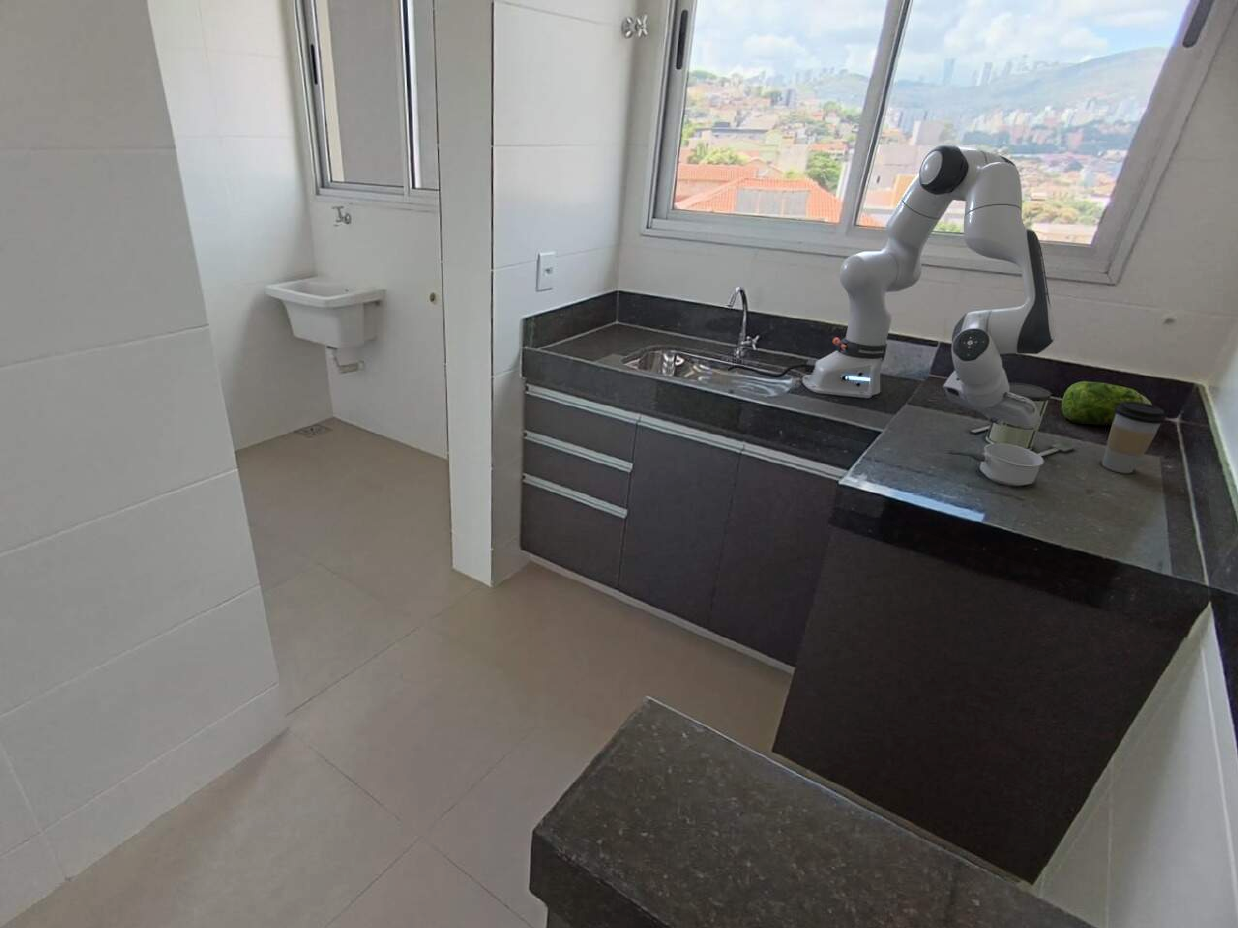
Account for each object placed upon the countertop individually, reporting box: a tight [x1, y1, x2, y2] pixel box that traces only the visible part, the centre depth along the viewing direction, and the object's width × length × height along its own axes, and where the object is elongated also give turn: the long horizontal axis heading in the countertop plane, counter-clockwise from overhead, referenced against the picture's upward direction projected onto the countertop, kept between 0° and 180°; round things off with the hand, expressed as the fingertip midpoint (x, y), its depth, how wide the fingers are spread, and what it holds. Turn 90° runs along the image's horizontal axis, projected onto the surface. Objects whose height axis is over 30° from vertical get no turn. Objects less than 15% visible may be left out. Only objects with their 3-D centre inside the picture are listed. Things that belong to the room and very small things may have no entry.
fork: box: [969, 425, 990, 435], centre depth 170 cm, size 15×2×1 cm, turn 122°
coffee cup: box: [1102, 401, 1167, 474], centre depth 149 cm, size 9×9×15 cm
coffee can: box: [985, 382, 1052, 451], centre depth 159 cm, size 10×10×14 cm
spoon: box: [1037, 442, 1075, 458], centre depth 158 cm, size 14×3×1 cm, turn 122°
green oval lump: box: [1061, 380, 1152, 426], centre depth 176 cm, size 12×21×11 cm, turn 84°
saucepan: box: [945, 443, 1044, 487], centre depth 143 cm, size 12×20×6 cm, turn 89°
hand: (997, 421), depth 154 cm, fingers closed
